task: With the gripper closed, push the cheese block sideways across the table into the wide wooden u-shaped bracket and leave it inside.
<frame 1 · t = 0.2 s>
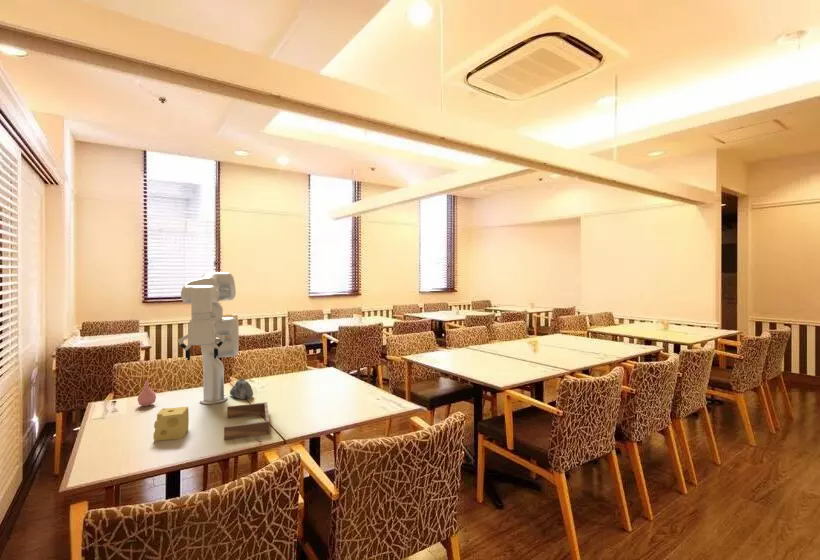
hand: (202, 358, 165), 31 cm above the table, fingers open, 9 cm apart
wooden u-shaped bracket: (246, 425, 174), on the table
mineral rock: (241, 397, 214), on the table
cheese: (172, 435, 164), on the table
pink rounded piece: (147, 406, 199), on the table
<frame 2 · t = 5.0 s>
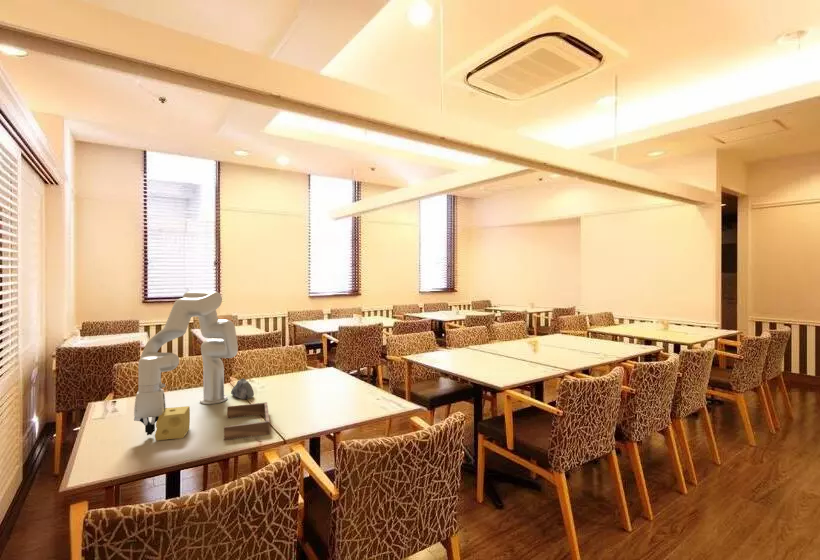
hand: (150, 433, 161), 2 cm above the table, fingers closed
cheese: (173, 435, 164), on the table, touching gripper
everything else where it was.
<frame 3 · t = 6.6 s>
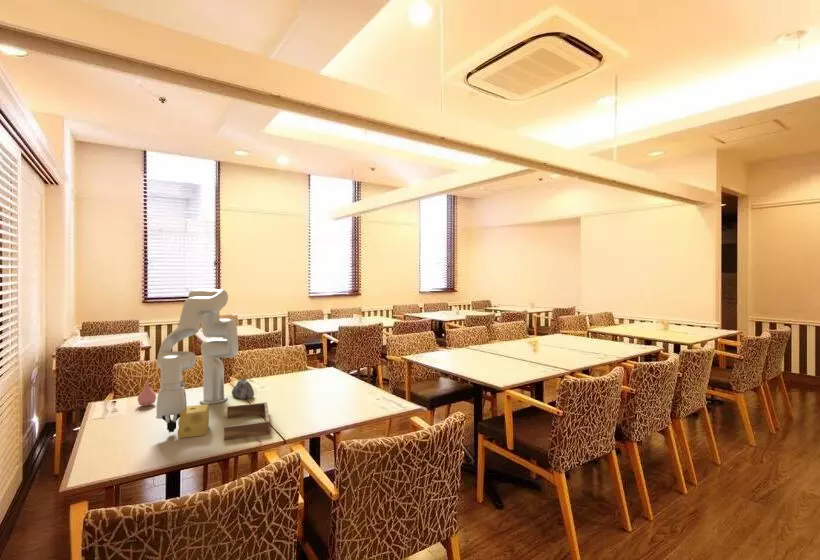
hand: (171, 431, 164), 2 cm above the table, fingers closed
cheese: (194, 432, 167), on the table, touching gripper
everything else where it was.
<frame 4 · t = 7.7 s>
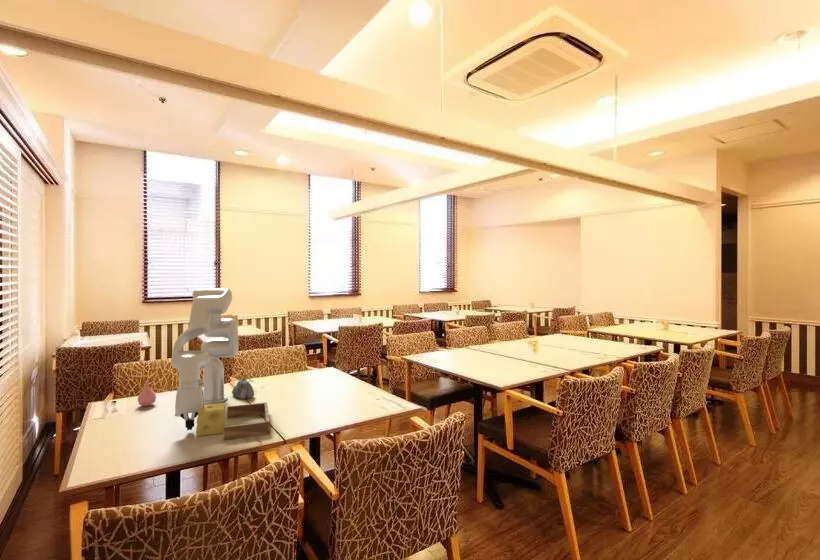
hand: (189, 428, 166), 2 cm above the table, fingers closed
cheese: (211, 430, 169), on the table, touching gripper
everything else where it was.
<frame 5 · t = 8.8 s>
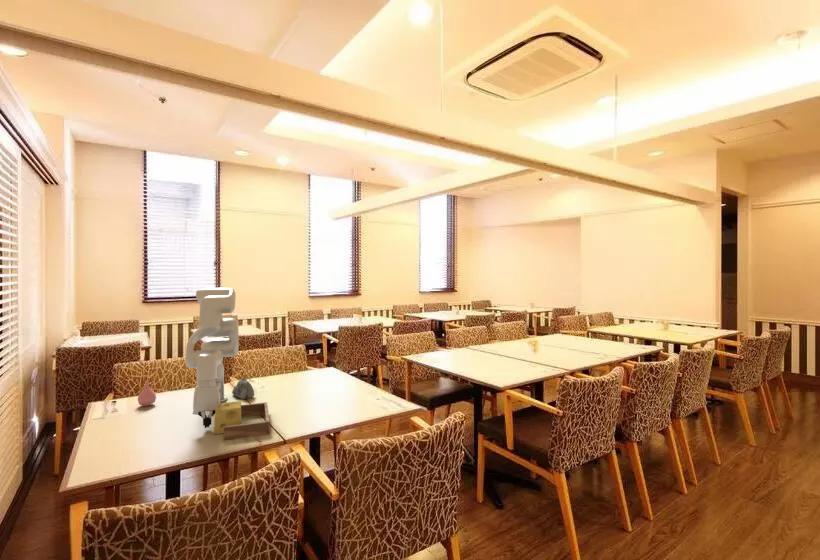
hand: (207, 426, 169), 2 cm above the table, fingers closed
cheese: (228, 428, 171), on the table, touching gripper
everything else where it was.
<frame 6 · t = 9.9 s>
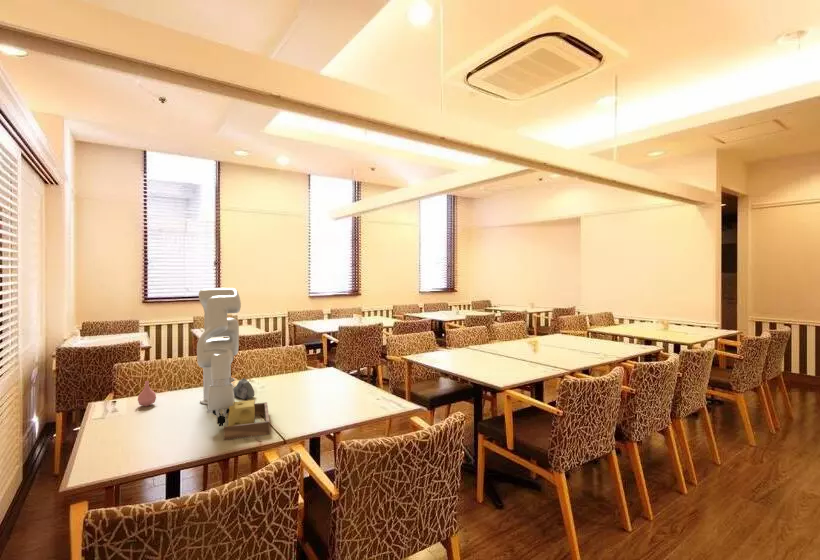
hand: (221, 425, 171), 2 cm above the table, fingers closed
cheese: (242, 427, 173), on the table, touching gripper
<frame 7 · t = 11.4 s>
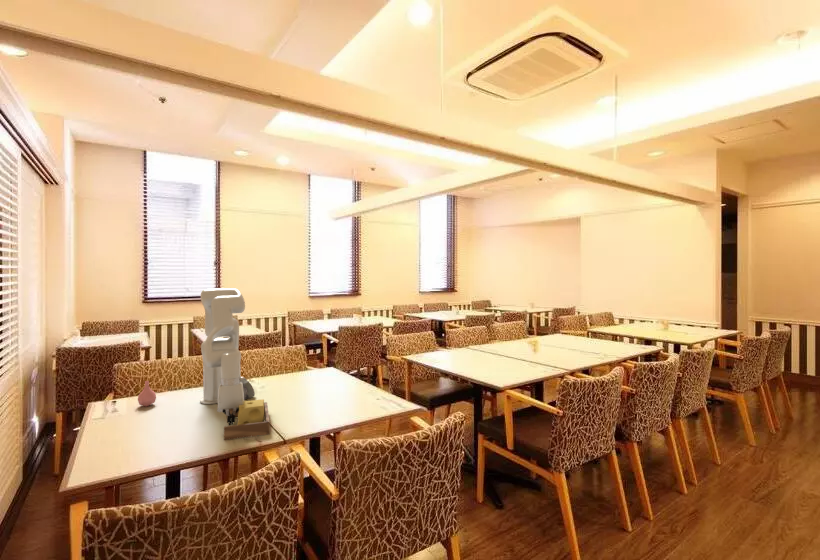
hand: (231, 423, 172), 2 cm above the table, fingers closed
cheese: (251, 426, 174), on the table, touching gripper
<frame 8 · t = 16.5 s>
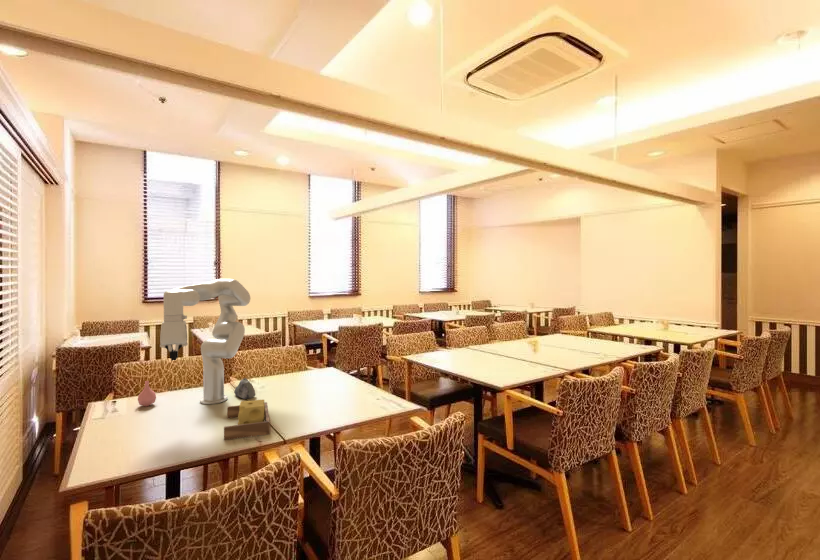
hand: (174, 359, 179), 27 cm above the table, fingers closed
cheese: (252, 426, 174), on the table
at the end: cheese inside the target area on the wooden u-shaped bracket (2.4 cm from its centre), point 0.0 cm above the wooden u-shaped bracket's base; cheese moved 30.2 cm from its start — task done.
